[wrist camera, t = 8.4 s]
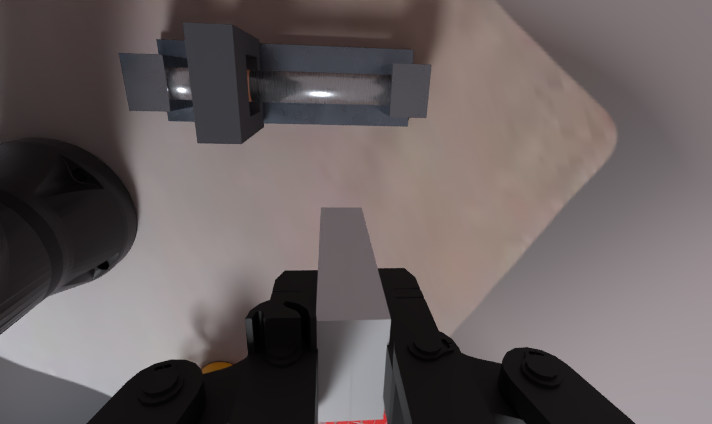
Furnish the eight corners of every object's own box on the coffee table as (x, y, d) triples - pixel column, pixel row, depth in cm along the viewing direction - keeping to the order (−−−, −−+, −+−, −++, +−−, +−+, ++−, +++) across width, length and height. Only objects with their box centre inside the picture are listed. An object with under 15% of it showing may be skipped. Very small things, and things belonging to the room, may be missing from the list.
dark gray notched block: (231, 126, 34) (197, 143, 25) (223, 38, 31) (182, 22, 22) (264, 126, 34) (241, 144, 25) (259, 39, 31) (231, 24, 22)
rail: (172, 120, 34) (133, 130, 28) (160, 40, 32) (114, 29, 25) (406, 125, 36) (424, 136, 29) (411, 50, 34) (433, 43, 27)
